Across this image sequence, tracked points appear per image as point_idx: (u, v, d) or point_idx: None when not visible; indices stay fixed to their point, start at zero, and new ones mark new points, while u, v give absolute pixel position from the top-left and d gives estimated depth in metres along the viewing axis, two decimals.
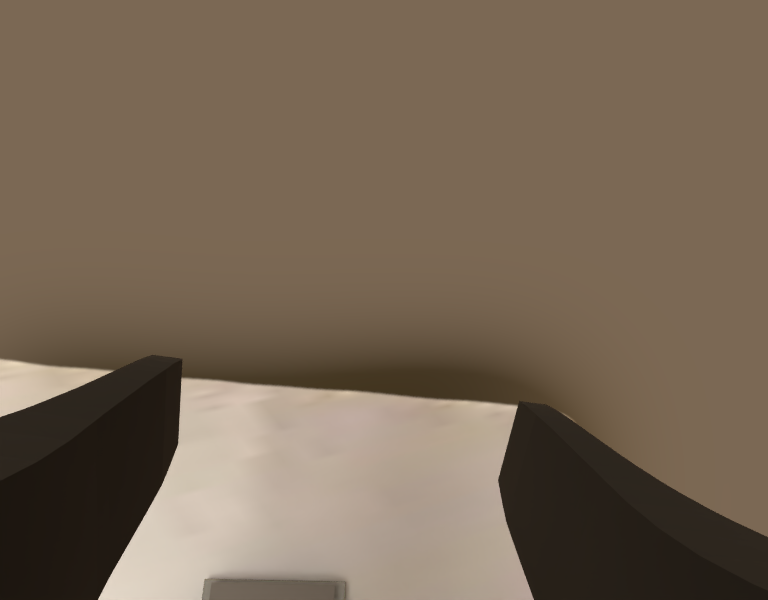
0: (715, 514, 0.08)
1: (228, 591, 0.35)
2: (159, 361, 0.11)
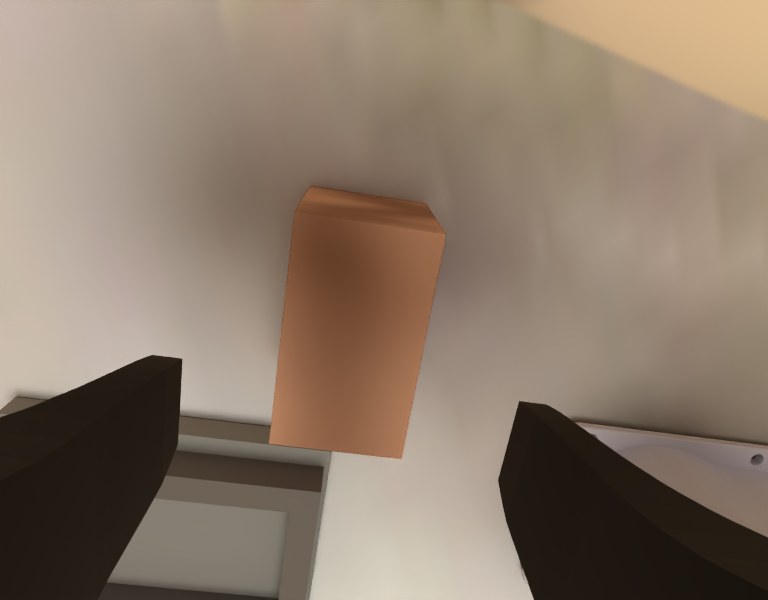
0: (715, 514, 0.08)
1: None
2: (159, 361, 0.11)
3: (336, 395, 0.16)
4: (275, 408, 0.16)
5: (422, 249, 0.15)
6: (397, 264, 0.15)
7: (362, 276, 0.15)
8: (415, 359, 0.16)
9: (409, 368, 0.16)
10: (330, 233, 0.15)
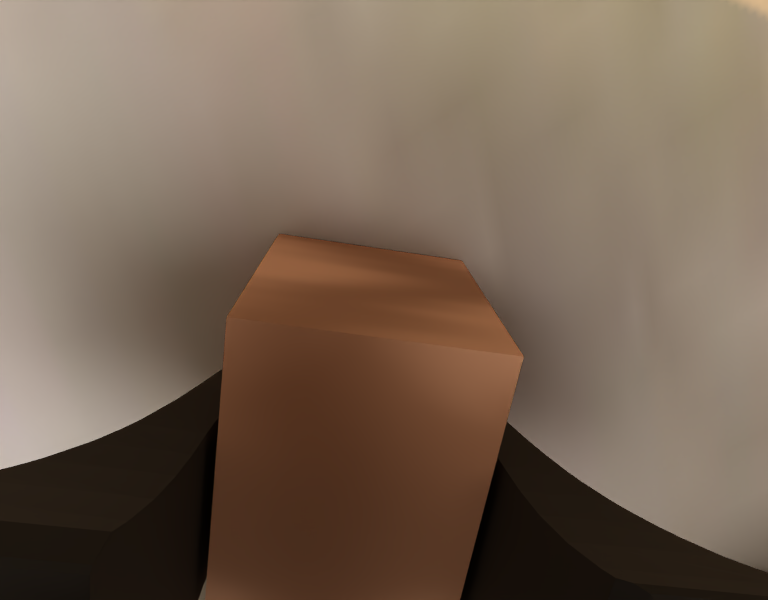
0: (609, 502, 0.08)
1: None
2: None
3: None
4: None
5: (477, 383, 0.08)
6: (428, 411, 0.08)
7: (362, 432, 0.08)
8: (457, 567, 0.09)
9: (446, 582, 0.09)
10: (298, 356, 0.08)
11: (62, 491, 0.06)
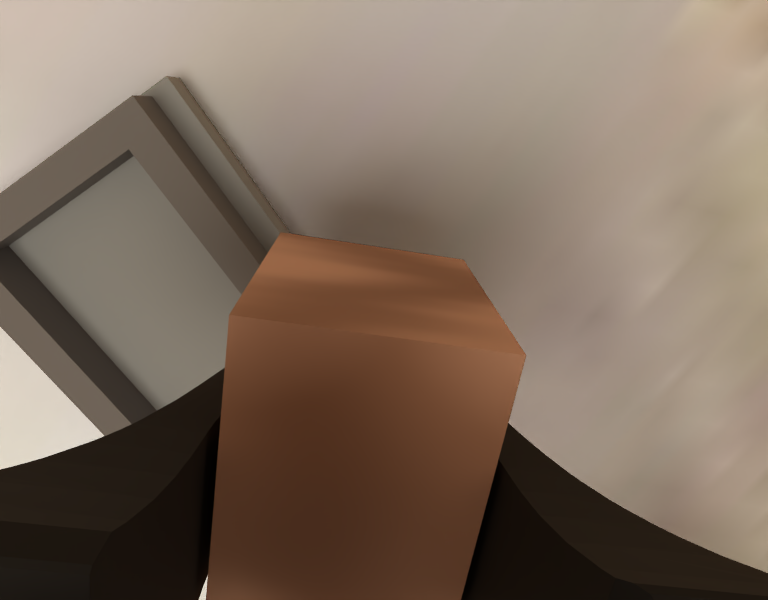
0: (609, 502, 0.08)
1: None
2: None
3: None
4: None
5: (479, 382, 0.08)
6: (430, 409, 0.08)
7: (364, 431, 0.08)
8: (459, 566, 0.09)
9: (448, 581, 0.09)
10: (301, 354, 0.08)
11: (62, 491, 0.06)
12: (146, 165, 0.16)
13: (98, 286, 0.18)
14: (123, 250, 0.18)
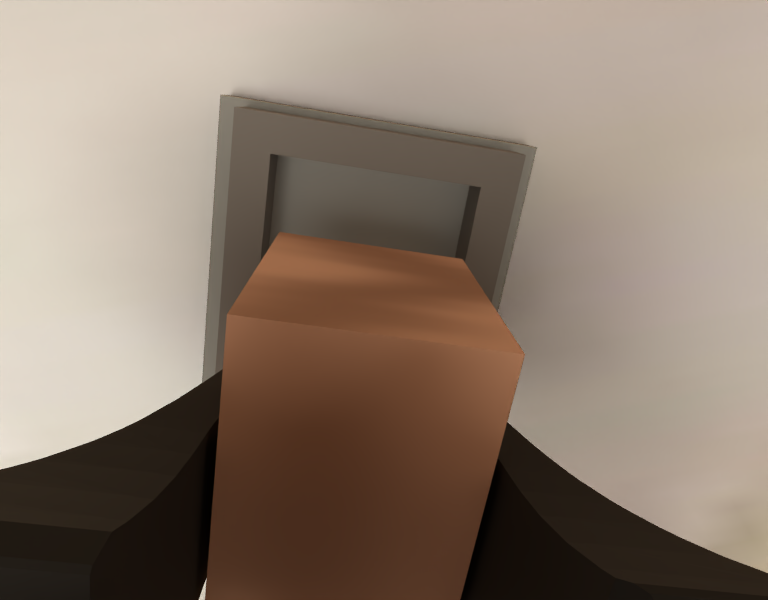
0: (609, 502, 0.08)
1: (276, 134, 0.14)
2: None
3: None
4: None
5: (478, 381, 0.08)
6: (428, 408, 0.08)
7: (362, 429, 0.08)
8: (458, 565, 0.09)
9: (447, 580, 0.09)
10: (299, 354, 0.08)
11: (63, 490, 0.06)
12: (480, 210, 0.15)
13: None
14: (367, 234, 0.17)
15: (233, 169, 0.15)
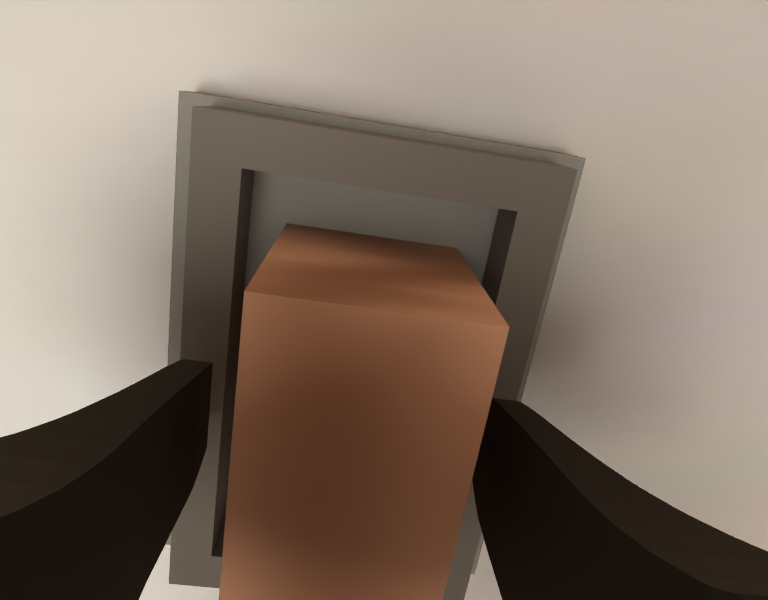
0: (674, 509, 0.08)
1: (248, 142, 0.11)
2: (191, 365, 0.11)
3: (321, 576, 0.10)
4: (223, 597, 0.10)
5: (468, 351, 0.09)
6: (424, 376, 0.09)
7: (365, 396, 0.09)
8: (452, 521, 0.10)
9: (442, 535, 0.10)
10: (308, 326, 0.08)
11: None
12: (517, 240, 0.12)
13: None
14: None
15: (192, 189, 0.11)
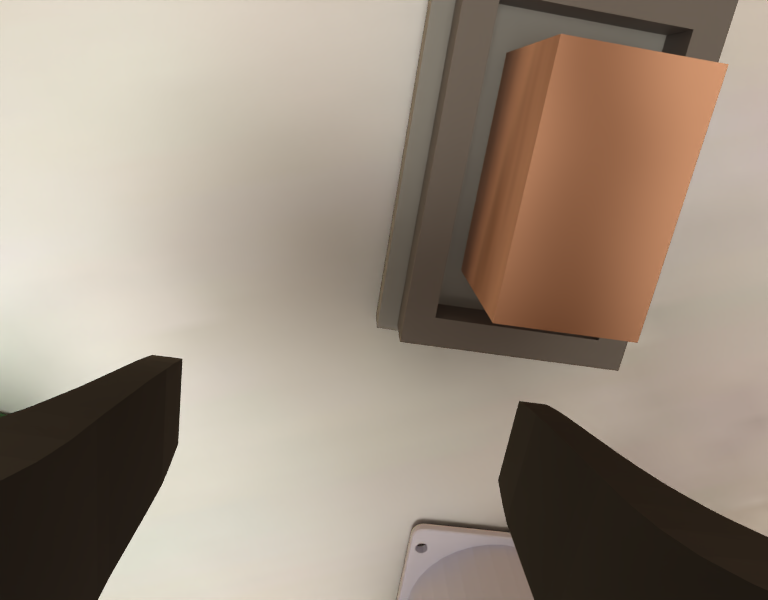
0: (715, 514, 0.08)
1: None
2: (159, 361, 0.11)
3: (576, 264, 0.14)
4: (506, 279, 0.14)
5: (699, 82, 0.13)
6: (667, 102, 0.13)
7: (626, 116, 0.13)
8: (670, 220, 0.14)
9: (662, 231, 0.14)
10: (597, 61, 0.13)
11: None
12: (691, 52, 0.16)
13: None
14: None
15: (464, 8, 0.16)
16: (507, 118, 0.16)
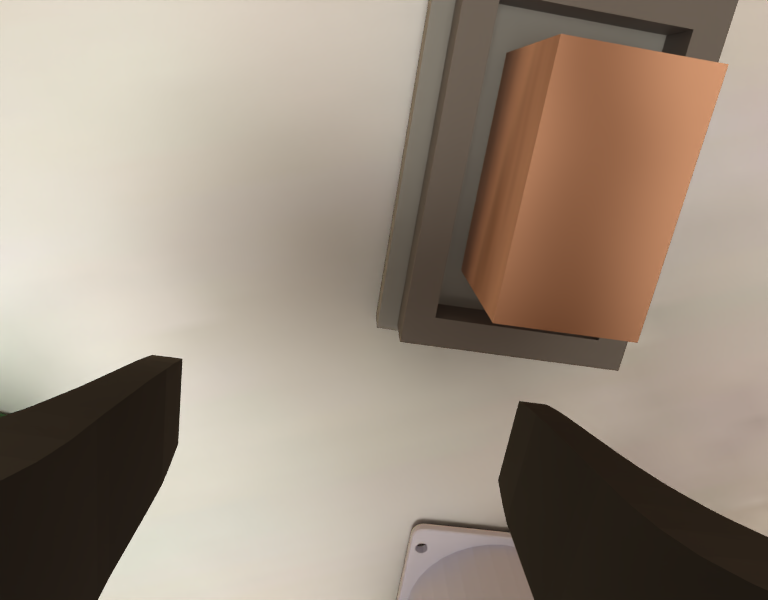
0: (715, 514, 0.08)
1: None
2: (159, 361, 0.11)
3: (576, 264, 0.14)
4: (506, 279, 0.14)
5: (699, 82, 0.13)
6: (667, 102, 0.13)
7: (626, 116, 0.13)
8: (670, 220, 0.14)
9: (662, 231, 0.14)
10: (597, 61, 0.13)
11: None
12: (691, 52, 0.16)
13: None
14: None
15: (464, 8, 0.16)
16: (507, 118, 0.16)
